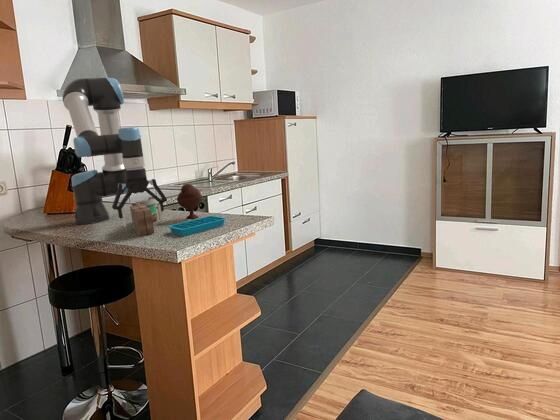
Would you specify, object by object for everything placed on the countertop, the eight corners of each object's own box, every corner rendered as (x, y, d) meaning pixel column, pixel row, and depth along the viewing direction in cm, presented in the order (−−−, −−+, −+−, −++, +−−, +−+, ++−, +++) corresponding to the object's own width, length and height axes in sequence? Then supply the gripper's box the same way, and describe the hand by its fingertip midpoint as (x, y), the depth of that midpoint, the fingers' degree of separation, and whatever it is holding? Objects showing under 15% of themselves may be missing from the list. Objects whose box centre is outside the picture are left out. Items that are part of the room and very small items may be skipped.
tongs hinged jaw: (140, 226, 175) (137, 205, 174) (146, 225, 176) (143, 204, 175) (147, 234, 160) (144, 210, 159) (154, 232, 162) (150, 209, 160)
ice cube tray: (228, 225, 166) (227, 218, 165) (183, 238, 152) (182, 229, 152) (211, 222, 174) (211, 215, 174) (167, 234, 161) (166, 226, 160)
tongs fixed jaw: (132, 227, 177) (128, 204, 176) (142, 225, 179) (139, 202, 177) (140, 236, 159) (136, 210, 157) (152, 234, 161) (148, 208, 159)
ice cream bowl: (174, 221, 183) (169, 186, 180) (190, 215, 192) (185, 182, 190) (194, 221, 178) (189, 185, 175) (209, 215, 188) (205, 181, 185)
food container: (151, 224, 180) (148, 201, 178) (138, 225, 181) (134, 202, 179) (164, 218, 192) (161, 196, 190) (152, 218, 193) (149, 197, 191)
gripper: (100, 173, 152) (110, 230, 157) (169, 165, 163) (177, 218, 167) (98, 172, 159) (108, 227, 163) (165, 164, 170) (172, 216, 174)
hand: (143, 223), depth 165 cm, fingers open, 13 cm apart
